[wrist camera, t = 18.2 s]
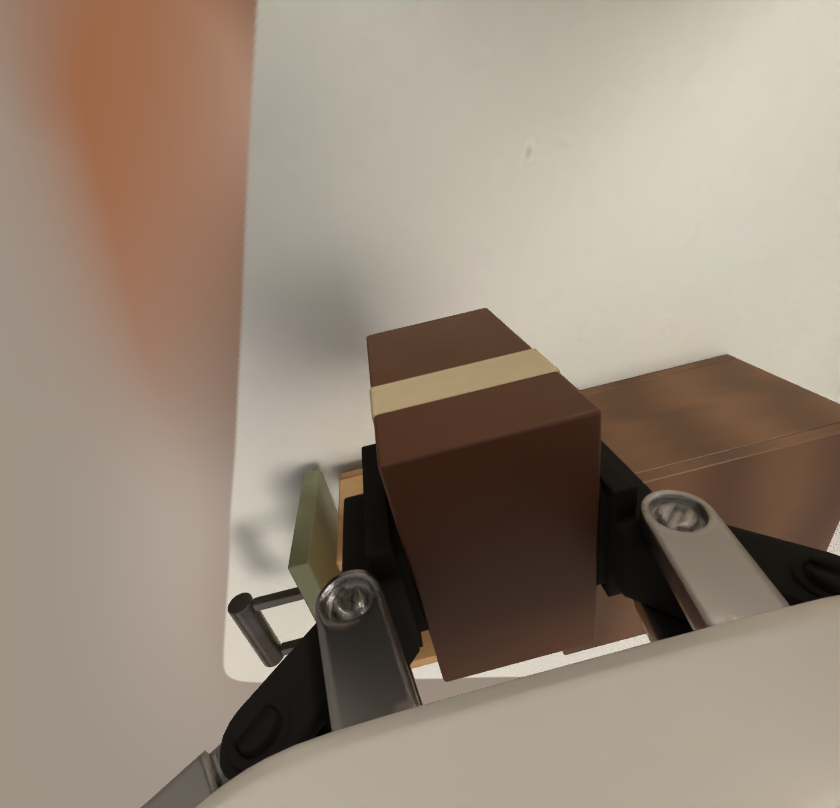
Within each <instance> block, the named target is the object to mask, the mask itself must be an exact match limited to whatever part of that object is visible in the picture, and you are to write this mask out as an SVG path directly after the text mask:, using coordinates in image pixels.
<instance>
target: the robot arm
mask: <svg viewBox="0 0 840 808" xmlns="http://www.w3.org/2000/svg"><path fill="white" fill-rule="evenodd" d="M362 472H363V494H359V495H355V496H351V497H347V498H345V499H344V510H343V547H342V573H341V574H339V575H337V576H335V577H334V578H332V579H331V580H330V581H329V582H328V583H327V584H326V585H325V586H324V587H323V589H322V590H321V592H320V593H319V595H318V598H317V601H316V607H315V614H316V621H317V623H316V624H315V625H314V626H313V627H312V628H311V629H310V630H309V632H308V633H307V634H306V635H305V636H304V637H303V638H302V639H301V641H300V642H299V643H298V644H297V645H296V646H295V647H294V648H293V650H292V651H291V652H290V653H289V654H288V655H287V656H286V657H285V659H284V660H283V661H282V662H281V663H280V664H279V665H278V666H277V667H276V669H275V670H274V671H273V672H272V673H271V674H270V675H269V676H268V678H267V679H266V680H265V681H264V682H263V683H262V685H260V687H259V688H258V689H257V690H256V691H255V692H254V693H253V694H252V696H251V697H250V698H249V699H248V700H247V701H246V702H245V703H244V704H243V706H242V707H241V708H240V709H239V710H238V712H237V713H236V714H235V716H234V717H233V718H232V720H231V721H230V723H229V725H228V727H227V729H226V731H225V733H224V735H223V739H222V743H221V744H220V745H219V746H218V747H217V748H216V749H214V750H213V751H212V752H211V753H210V754H208V753H207V752H206V751H204V752H203V753H201V754H200V755H199V756H198V757H197V758H196V759H195V760H194V761H193V762H192V763H190V764H189V765H188V766H187V767H186V768H185V769H184V770H182V771H181V772H180V773H179V774H178V775H177V776H176V777H175V778H174V779H173V780H171V781H170V782H169V783H168V784H167V785H166V786H165V787H163V788H162V789H161V790H160V791H159V792H158V793H157V794H156V795H155V796H154V797H152V798H151V799H150V800H149V801H148V802H147V803H146V804H144V805H143V806H142V807H141V808H840V556H838V555H835V554H832V553H829V552H826V551H822V550H819V549H815V548H811V547H807V546H804V545H800V544H796V543H793V542H789V541H785V540H782V539H778V538H774V537H770V536H767V535H763V534H759V533H756V532H752V531H748V530H744V529H741V528H737V527H733V526H730V525H726V524H725V523H724V521H723V520H722V519H721V518H720V516H719V515H718V514H717V513H716V511H715V510H714V509H713V508H712V507H711V506H710V505H709V504H708V503H707V502H706V501H704V500H702V499H701V498H699V497H697V496H695V495H692V494H689V493H687V492H683V491H677V490H660V491H656V492H652V491H651V490H650V488H649V487H648V486H647V485H646V484H645V483H644V482H643V481H642V480H641V479H640V478H639V477H638V476H637V475H636V474H635V473H634V472H633V471H632V470H631V469H630V468H629V467H628V466H627V465H626V464H625V463H624V462H623V461H622V460H621V459H620V458H619V457H618V456H617V455H616V454H615V453H614V452H613V451H612V450H611V449H610V448H609V447H608V446H607V445H606V444H605V443H604V442H603V441H602V440H601V453H600V490H599V528H598V565H597V585H600V584H601V586H602V588H603V589H604V591H605V592H606V594H607V596H608V597H611V596H615V595H618V594H623V595H624V596H625V597H628V598H630V599H633V602H634V606H635V608H636V610H637V613H638V615H639V617H640V619H641V622H642V624H643V626H644V629H645V631H646V633H647V635H648V638H649V640H650V642H651V643H647V644H644V645H640V646H636V647H633V648H629V649H625V650H622V651H618V652H614V653H611V654H607V655H603V656H599V657H596V658H592V659H588V660H585V661H581V662H577V663H574V664H570V665H566V666H563V667H559V668H555V669H552V670H548V671H544V672H541V673H537V674H533V675H530V676H526V677H522V678H519V679H515V680H511V681H508V682H504V683H501V684H497V685H493V686H490V687H486V688H483V689H479V690H475V691H472V692H468V693H465V694H461V695H457V696H454V697H450V698H447V699H443V700H440V701H436V702H432V703H429V704H425V705H423V703H422V700H421V697H420V694H419V691H418V688H417V685H416V682H415V679H414V676H413V672H412V669H411V666H410V665H411V663H412V662H413V660H414V659H415V657H416V656H417V654H418V653H419V651H420V647H423V642H422V635H421V632H423V631H427V630H428V627H427V624H426V621H425V617H424V614H423V611H422V608H421V604H420V601H419V598H418V595H417V591H416V588H415V585H414V581H413V578H412V575H411V572H410V568H409V565H408V562H407V559H406V555H405V552H404V549H403V546H402V543H401V540H400V537H399V533H398V530H397V527H396V524H395V520H394V517H393V514H392V511H391V507H390V504H389V501H388V498H387V494H386V491H385V488H384V485H383V481H382V478H381V475H380V472H379V468H378V461H377V450H376V444H372V445H368V446H364V447H362Z"/></svg>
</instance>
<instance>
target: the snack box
mask: <svg viewBox="0 0 840 808" xmlns="http://www.w3.org/2000/svg"><path fill="white" fill-rule="evenodd" d="M366 340H367V351H368V362H369V373H370V384H371V389H370V401H371V413H372V419H373V423H374V428H375V439H376V450H377V461H378V468H379V472H380V475H381V478H382V481H383V485H384V488H385V491H386V494H387V498H388V501H389V504H390V507H391V511H392V514H393V517H394V520H395V524H396V527H397V530H398V533H399V537H400V540H401V543H402V546H403V549H404V552H405V555H406V559H407V562H408V565H409V568H410V572H411V575H412V578H413V581H414V585H415V588H416V591H417V595H418V598H419V601H420V604H421V608H422V611H423V614H424V617H425V621H426V624H427V627H428V631H429V634H430V637H431V641H432V644H433V647H434V650H435V654H436V657H437V660H438V663H439V667H440V670H441V673H442V676H443V679H444V680H445V681H446V682H448V681H452V680H455V679H459V678H463V677H467V676H470V675H474V674H478V673H482V672H485V671H489V670H493V669H496V668H500V667H504V666H508V665H511V664H515V663H519V662H523V661H526V660H530V659H534V658H537V657H541V656H545V655H549V654H552V653H556V652H560V651H563V650H567V649H571V648H575V647H578V646H582V645H586V644H589V643H593V642H594V641H595V639H596V602H597V565H598V528H599V490H600V453H601V416H602V413H601V410H600V408H598V407H597V406H596V405H595V404H594V403H593V402H592V401H591V400H589V399H588V398H587V397H586V396H585V395H584V394H583V393H582V392H580V391H579V390H578V389H577V388H576V387H575V386H574V385H573V384H571V383H570V382H569V381H568V380H567V379H566V378H565V377H564V376H562V375H561V374H560V371H559V369H558V368H557V367H555V366H554V365H553V364H552V363H551V362H550V361H549V360H547V359H546V358H545V357H544V356H543V355H542V354H541V353H539V352H538V351H537V350H536V349H532V348H531V347H530V346H529V345H528V344H527V343H525V342H524V341H523V340H522V339H521V338H520V337H519V336H518V335H516V334H515V333H514V332H513V331H512V330H511V329H510V328H509V327H507V326H506V325H505V324H504V323H503V322H502V321H501V320H500V319H498V318H497V317H496V316H495V315H494V314H493V313H492V312H491V311H489V310H488V309H487V308H483V309H479V310H474V311H470V312H466V313H462V314H458V315H453V316H449V317H445V318H441V319H436V320H432V321H428V322H424V323H419V324H415V325H411V326H407V327H403V328H398V329H394V330H390V331H386V332H381V333H377V334H373V335H369V336H367V338H366Z"/></svg>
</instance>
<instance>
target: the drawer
mask: <svg viewBox="0 0 840 808" xmlns="http://www.w3.org/2000/svg"><path fill="white" fill-rule="evenodd" d="M359 494H363V472H362V468H361V469H357V470H353V471H349V472H345V473H341V474H340V487H339V508H338V513H337V510H336V508H335V505H334V503H333V500H332V498H331V495H330V493H329V490H328V488H327V485H326V483H325V480H324V478H323V475H322V472H321V470H320V468H318V469H314V470H310V471H306V472H304V478H303V484H302V490H301V495H300V501H299V507H298V513H297V519H296V525H295V530H294V536H293V542H292V548H291V554H290V560H289V565H288V569H289V571H290V573H291V575H292V577H293V579H294V581H295V583H296V585H297V586H298V587H296V588H292V589H288V590H284V591H280V592H276V593H272V594H269V595H265V596H261V597H257V598H254V599H253V597H252V596H251V594H249V593H241V594H239V595H237V596H235V597H234V598H233V599H232V600H231V602H230V603H229V605H228V612H229V614H230V615H231V617H232V618H233V620H234V621H235V623H236V624H237V625H238V627H239V628H240V630H241V631H242V633H243V634H244V636H245V637H246V639H247V640H248V642H249V643H250V644H251V646H252V647H253V649H254V650H255V652H256V653H257V655H258V656H259V658H260V659H261V661H262V662H263V664H264V665H265V666H267V667H273V666H275V665H277V664H278V663H279V662H280V661H281V660H282V658H283V656H284V655H288V654H289V653H290V652H291V651H292V650H293V648H294V647H295V646H296V645H297V644H298V643H299V642H300V641H301V639H302V638H299V639H296V640H292V641H288V642H284V643H282V644H281V643H280V641H279V639H278V638H277V636H276V635H275V633H274V631H273V630H272V628H271V627H270V625H269V623H268V622H267V620H266V618H265V617H264V615H263V614H262V612H261V610H263V609H267V608H271V607H275V606H279V605H283V604H287V603H290V602H294V601H298V600H302V599H304V600H305V602H306V604H307V606H308V607H309V609H310V611H311V613H312V615H313V617H314V619H315V621H316V614H315V607H316V601H317V598H318V595H319V593H320V592H321V590H322V589H323V587H324V586H325V585H326V584H327V583H328V582H329V581H330V580H331V579H332V578H334V577H335V576H337V575H339V574H341V573H342V547H343V510H344V499H345V498H347V497H351V496H355V495H359ZM316 623H317V621H316ZM421 635H422V642H423V647H420V651H419V653H418V654H417V656H416V657H415V659H414V660H413V662H412V663H411V665H410V666H411V669H412V668H416V667H419V666H423V665H427V664H431V663H434V662H438V660H437V657H436V654H435V650H434V647H433V644H432V641H431V637H430V634H429V631H428V630H427V631H423V632H421Z"/></svg>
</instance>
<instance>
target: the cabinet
mask: <svg viewBox="0 0 840 808" xmlns="http://www.w3.org/2000/svg"><path fill="white" fill-rule="evenodd" d="M580 392H582V393H583V394H584V395H585V396H586V397H587V398H588V399H589V400H591V401H592V402H593V403H594V404H595V405H596V406H597V407H598V408H600V410H601V413H602V416H601V440H602V441H603V442H604V443H605V444H606V445H607V446H608V447H609V448H610V449H611V450H612V451H613V452H614V453H615V454H616V455H617V456H618V457H619V458H620V459H621V460H622V461H623V462H624V463H625V464H626V465H627V466H628V467H629V468H630V469H631V470H632V471H633V472H634V473H635V474H636V475H637V476H638V477H639V478H640V479H641V480H642V481H643V482H644V483H645V484H646V485H647V486H648V487H649V488H650V490H651V491H652V492H656V491H660V490H677V491H683V492H687V493H689V494H692V495H695V496H697V497H699V498H701V499H702V500H704V501H706V502H707V503H708V504H709V505H710V506H711V507H712V508H713V509H714V510H715V511H716V513H717V514H718V515H719V516H720V518H721V519H722V520H723V521H724V523H725V524H726V525H730V526H733V527H737V528H741V529H744V530H748V531H752V532H756V533H759V534H763V535H767V536H770V537H774V538H778V539H782V540H785V541H789V542H793V543H796V544H800V545H804V546H807V547H811V548H815V549H819V550H822V551H827V549H828V546H829V544H830V542H831V539H832V537H833V534H834V532H835V530H836V527H837V525H838V523H839V520H840V404H838V403H836V402H834V401H831V400H829V399H827V398H825V397H822V396H820V395H818V394H816V393H813V392H811V391H809V390H807V389H804V388H802V387H800V386H798V385H795V384H793V383H791V382H789V381H786V380H784V379H782V378H780V377H778V376H775V375H773V374H771V373H769V372H766V371H764V370H762V369H760V368H757V367H755V366H753V365H751V364H748V363H746V362H744V361H742V360H739V359H737V358H735V357H733V356H731V355H724V356H720V357H716V358H712V359H707V360H703V361H699V362H695V363H691V364H687V365H683V366H679V367H675V368H671V369H666V370H662V371H658V372H654V373H650V374H646V375H642V376H638V377H634V378H630V379H625V380H621V381H617V382H613V383H609V384H605V385H601V386H597V387H593V388H589V389H585V390H580ZM642 634H646V631H645V629H644V626H643V624H642V622H641V619H640V617H639V615H638V613H637V610H636V608H635V606H634V602H633V599H630V598H628V597H625V596H624V595H623V594H618V595H615V596H611V597H608V596H607V594H606V592H605V591H604V589H603V588H602V586H601V584H600V585H597V602H596V639H595V641H594V642H593V643H589V644H586V645H582V646H578V647H575V648H571V649H567V650H563V653H564V655H568V654H571V653H575V652H579V651H582V650H586V649H590V648H594V647H597V646H601V645H605V644H609V643H612V642H616V641H620V640H624V639H627V638H631V637H635V636H639V635H642Z"/></svg>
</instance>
